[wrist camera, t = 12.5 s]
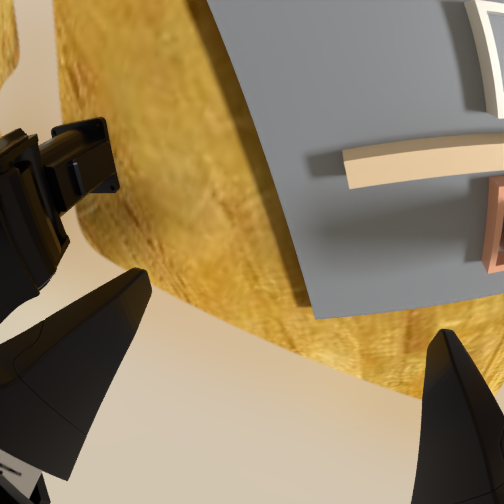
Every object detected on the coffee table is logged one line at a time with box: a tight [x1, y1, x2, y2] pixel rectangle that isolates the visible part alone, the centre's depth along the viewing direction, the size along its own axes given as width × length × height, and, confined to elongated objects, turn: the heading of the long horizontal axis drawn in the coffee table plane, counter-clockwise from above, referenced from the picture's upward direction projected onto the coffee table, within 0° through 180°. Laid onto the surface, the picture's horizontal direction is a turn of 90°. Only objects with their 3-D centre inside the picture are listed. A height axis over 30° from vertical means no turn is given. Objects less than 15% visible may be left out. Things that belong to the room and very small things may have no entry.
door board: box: [207, 0, 504, 319], centre depth 14 cm, size 21×26×4 cm
